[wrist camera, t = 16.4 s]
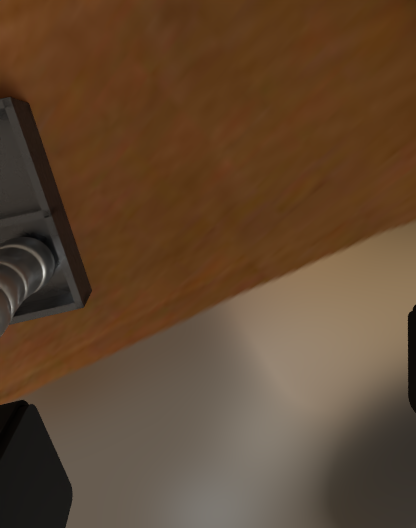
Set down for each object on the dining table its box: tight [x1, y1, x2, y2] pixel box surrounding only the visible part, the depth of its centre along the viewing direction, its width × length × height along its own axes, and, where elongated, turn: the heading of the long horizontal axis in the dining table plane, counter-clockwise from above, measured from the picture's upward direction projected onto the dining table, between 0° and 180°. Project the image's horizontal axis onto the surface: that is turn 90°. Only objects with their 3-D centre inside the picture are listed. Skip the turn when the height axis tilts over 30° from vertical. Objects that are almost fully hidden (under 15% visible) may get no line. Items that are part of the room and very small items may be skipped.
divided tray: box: [0, 97, 92, 325], centre depth 39 cm, size 22×12×5 cm, turn 11°
